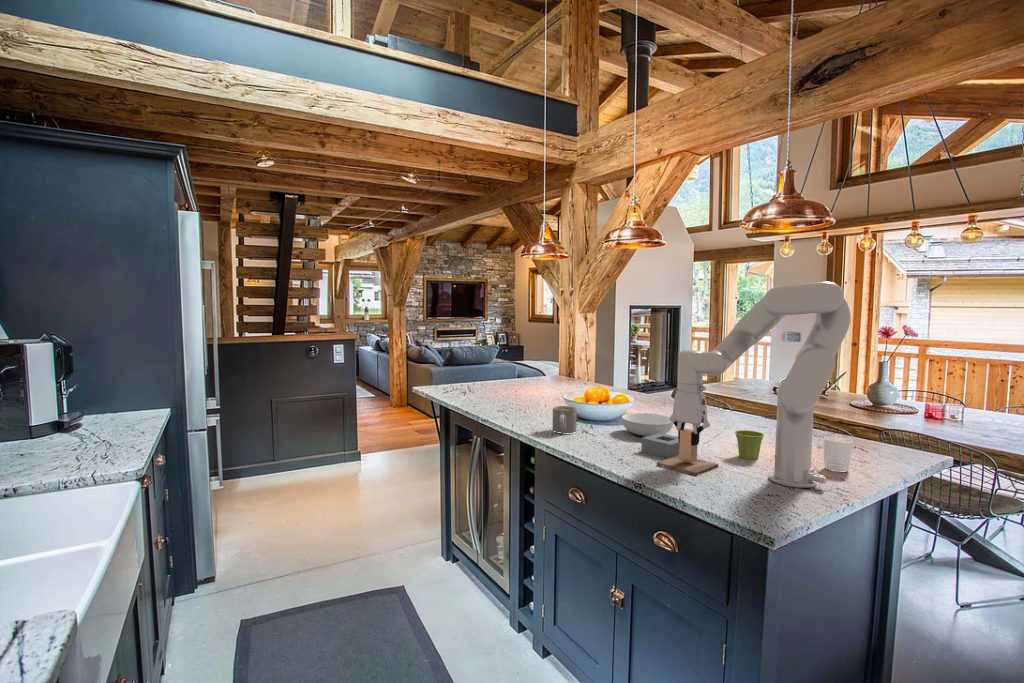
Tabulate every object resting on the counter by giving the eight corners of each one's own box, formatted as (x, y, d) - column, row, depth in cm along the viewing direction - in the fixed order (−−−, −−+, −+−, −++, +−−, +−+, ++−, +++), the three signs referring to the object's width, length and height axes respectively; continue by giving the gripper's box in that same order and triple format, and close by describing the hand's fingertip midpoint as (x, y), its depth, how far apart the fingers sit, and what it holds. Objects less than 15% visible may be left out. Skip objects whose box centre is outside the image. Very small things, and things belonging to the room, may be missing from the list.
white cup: (837, 474, 159) (839, 443, 158) (816, 466, 167) (817, 437, 166) (857, 472, 161) (858, 441, 160) (835, 465, 169) (836, 435, 168)
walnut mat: (718, 467, 165) (718, 464, 165) (696, 475, 156) (696, 472, 156) (679, 457, 176) (679, 454, 176) (657, 465, 167) (657, 462, 167)
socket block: (689, 452, 182) (689, 439, 182) (670, 458, 174) (671, 444, 174) (660, 445, 191) (660, 432, 191) (641, 451, 183) (641, 437, 183)
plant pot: (727, 455, 179) (728, 431, 178) (745, 452, 183) (746, 428, 183) (751, 462, 170) (752, 437, 170) (769, 459, 175) (770, 434, 174)
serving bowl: (628, 440, 199) (629, 423, 198) (616, 428, 219) (616, 412, 219) (681, 440, 199) (681, 423, 199) (663, 428, 220) (663, 412, 220)
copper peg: (696, 460, 166) (697, 430, 165) (690, 462, 163) (691, 432, 162) (685, 457, 169) (686, 428, 168) (679, 460, 166) (680, 430, 165)
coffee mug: (557, 427, 219) (557, 405, 218) (579, 430, 215) (579, 407, 214) (545, 434, 207) (546, 410, 207) (568, 437, 203) (568, 412, 202)
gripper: (720, 390, 161) (718, 447, 162) (673, 384, 173) (671, 436, 174) (708, 392, 156) (706, 451, 157) (661, 386, 168) (659, 440, 169)
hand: (688, 443), depth 166 cm, fingers closed on copper peg, 4 cm apart
